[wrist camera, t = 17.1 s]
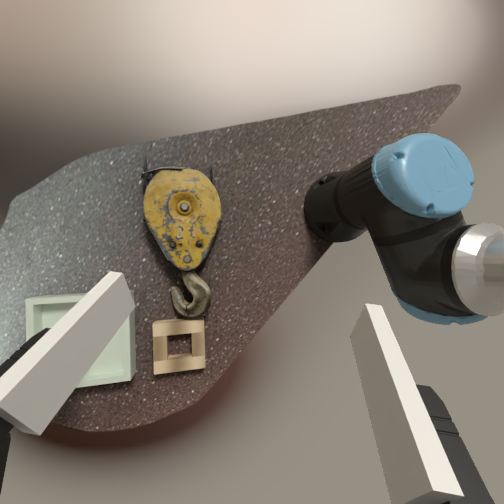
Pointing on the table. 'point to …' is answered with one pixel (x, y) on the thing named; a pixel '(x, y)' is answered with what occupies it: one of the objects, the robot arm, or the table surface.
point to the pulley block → (183, 227)
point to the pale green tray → (112, 357)
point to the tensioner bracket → (178, 361)
